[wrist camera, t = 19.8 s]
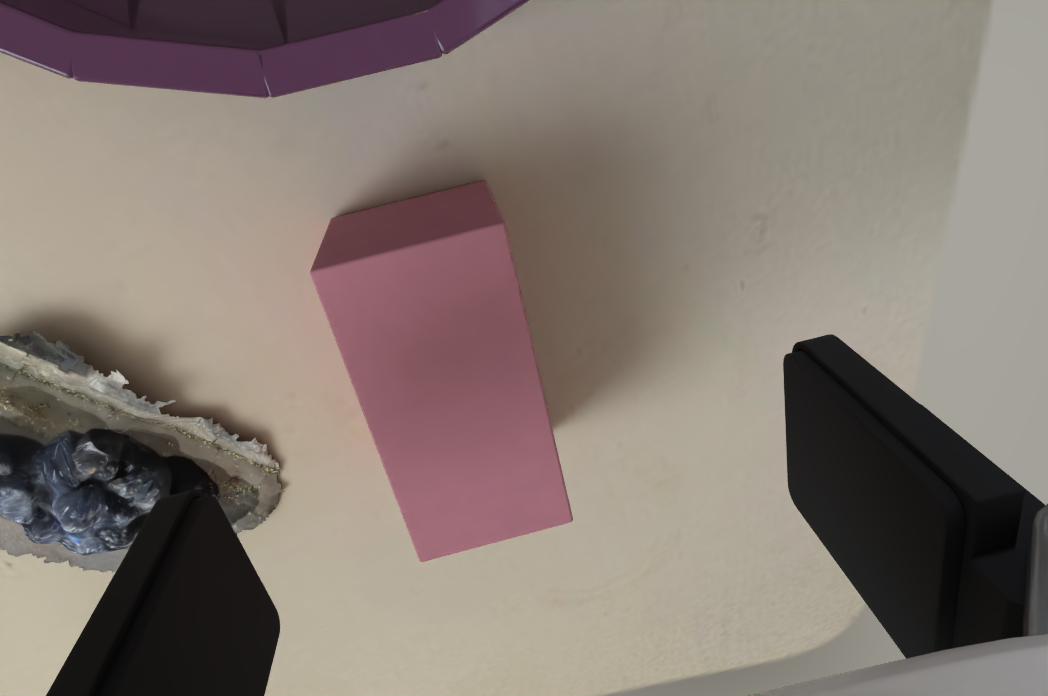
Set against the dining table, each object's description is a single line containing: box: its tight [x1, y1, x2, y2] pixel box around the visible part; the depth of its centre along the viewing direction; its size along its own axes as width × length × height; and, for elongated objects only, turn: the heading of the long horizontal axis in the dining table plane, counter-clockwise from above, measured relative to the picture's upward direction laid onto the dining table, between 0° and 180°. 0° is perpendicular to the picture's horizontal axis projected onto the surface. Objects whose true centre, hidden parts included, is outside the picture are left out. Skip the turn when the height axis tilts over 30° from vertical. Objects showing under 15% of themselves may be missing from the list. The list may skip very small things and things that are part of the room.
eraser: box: [310, 181, 573, 562], centre depth 15 cm, size 7×4×4 cm, turn 12°
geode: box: [0, 330, 284, 572], centre depth 16 cm, size 7×8×2 cm
